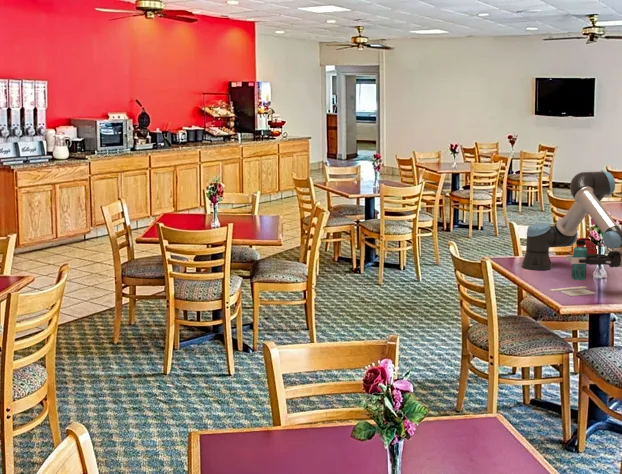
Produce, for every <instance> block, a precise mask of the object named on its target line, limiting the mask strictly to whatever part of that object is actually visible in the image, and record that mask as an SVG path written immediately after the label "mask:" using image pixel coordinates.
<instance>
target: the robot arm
mask: <svg viewBox="0 0 622 474" xmlns="http://www.w3.org/2000/svg"><path fill="white" fill-rule="evenodd" d="M569 189H570V190H569V191H570V195H571V196H572V197H573V199H574V202H573V203H572V204H571V206H570V208H569V209H568V210H567V212H566V213H565V215H564V216H563V217H562V218H559V219H558V220H557V221H556V222H555V223H554V224H553V225H551V224H550V223H548V222H537V223H536V222H535V223H533V224H530V225H528V227H527V230H526V247H525V255H524V257H523V259H522V263H521V267H522V268H523V269H527V270H531V271H532V270H533V271H549V270H551V269H552V261H551V257H550V254H549V253H550V248H566V247H571V246H573V245H574V244H576V240H577V239H578V227H579V225H580V224H581V223H582V221H583V220H584V219H585V217H586V216H587V215H589V217H590V219H591V220H592V221H593V222H594V223H595V225H596V226H597V228H598V229H599V230H600V232H601V234H603V236H602V241H603V244H604V246H605V247H606V248H609V249H611V248H612V249H618V248H622V229H621V228H620V226H619V225H618V224H617V223H616V220H614V218H612V216H611V214H610V213H609V212H608V211H607V209H606V208H605V206H604V205H603V203H601V201H602V200H603V198H604V197H605V196H609V195H612V194H613V193H614V192H615V189H616V179H615V177H614V175H613V174H612V173H611V172H609V171H603V170H601V171H583V172H578V173H577V174H575V175H574V176H573V177H572V178H571V181H570V184H569ZM565 258H566V259H565V261H566V262H570V265H572V264H587V265H589V266H592V265H593V266H599V265H601V266H603V265H605V266H606V265H607V266H609V267H610V268H622V250H610V251H609V252H608V254H607V255H606V254H603V253H602V254H601V253H599V254H587V257H586V258H573V254H566V257H565Z"/></svg>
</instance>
